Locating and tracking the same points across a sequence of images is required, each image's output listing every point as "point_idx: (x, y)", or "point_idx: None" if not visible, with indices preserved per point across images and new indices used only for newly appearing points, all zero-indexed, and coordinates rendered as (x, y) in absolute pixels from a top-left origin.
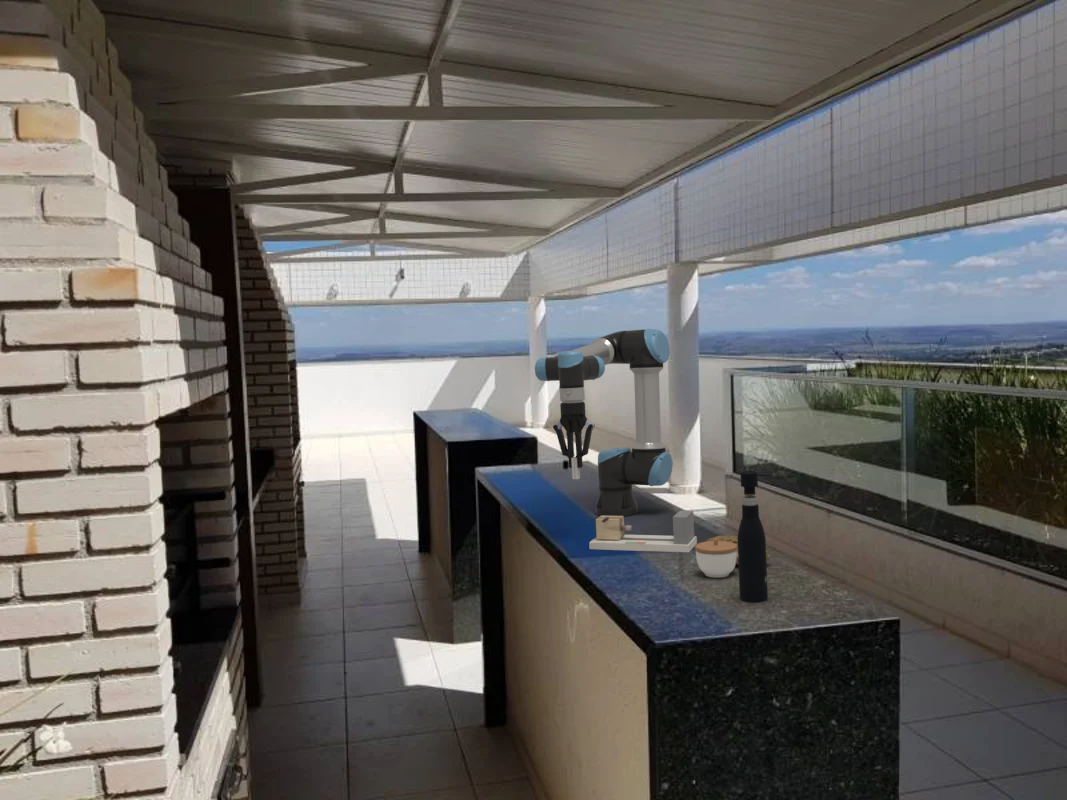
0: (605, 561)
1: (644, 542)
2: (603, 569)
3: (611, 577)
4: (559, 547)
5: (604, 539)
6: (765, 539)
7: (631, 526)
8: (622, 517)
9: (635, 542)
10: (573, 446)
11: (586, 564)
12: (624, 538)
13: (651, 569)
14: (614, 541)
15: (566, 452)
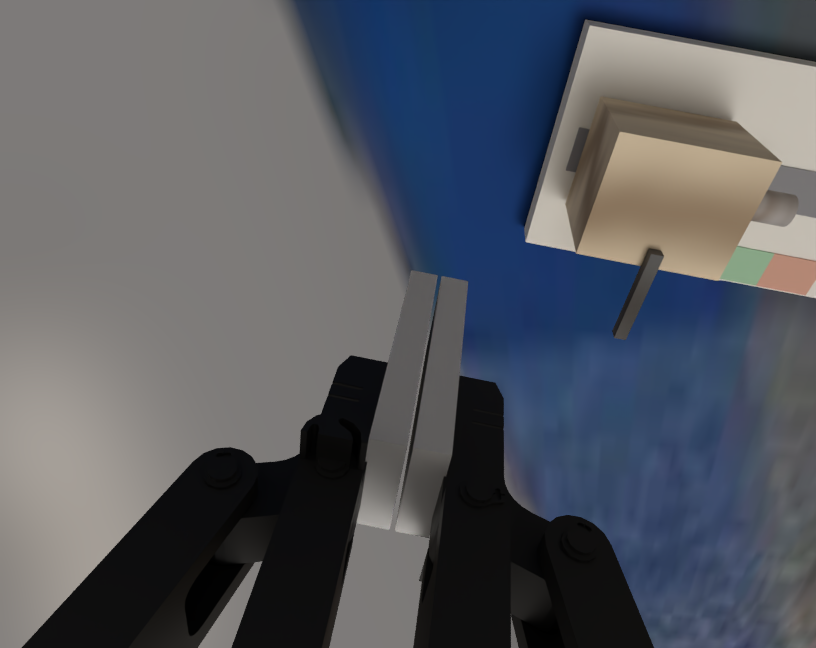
0: (593, 408)
1: (813, 270)
2: (583, 485)
3: None
4: (374, 182)
5: None
6: None
7: (796, 202)
8: (765, 187)
9: (765, 267)
10: (330, 613)
11: (524, 434)
12: None
13: (744, 501)
14: None
15: (252, 556)
